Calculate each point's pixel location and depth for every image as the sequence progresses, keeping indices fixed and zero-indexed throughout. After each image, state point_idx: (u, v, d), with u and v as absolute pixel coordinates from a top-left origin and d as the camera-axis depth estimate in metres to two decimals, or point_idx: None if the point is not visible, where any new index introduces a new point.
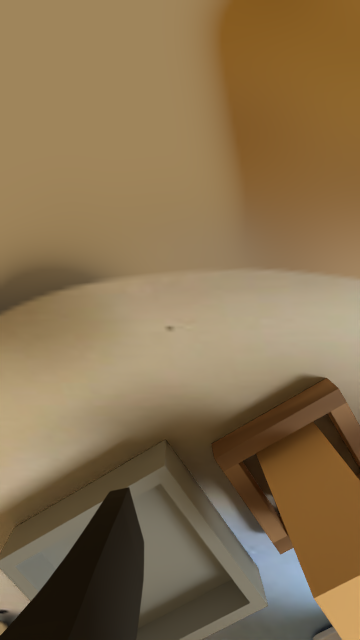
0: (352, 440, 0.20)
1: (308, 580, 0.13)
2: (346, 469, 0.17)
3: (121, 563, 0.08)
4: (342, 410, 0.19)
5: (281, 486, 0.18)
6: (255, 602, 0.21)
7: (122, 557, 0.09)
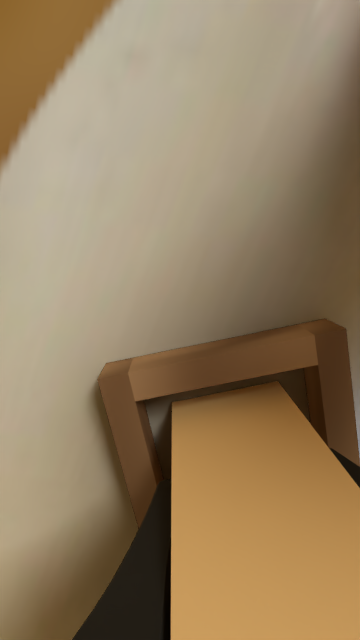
0: (204, 381, 0.11)
1: None
2: None
3: None
4: (140, 382, 0.11)
5: None
6: None
7: None
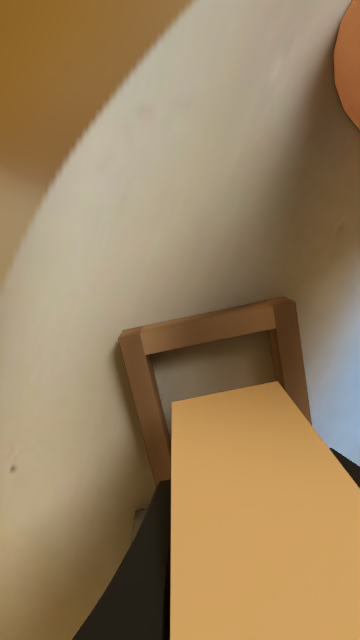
0: (194, 340, 0.15)
1: None
2: None
3: None
4: (148, 341, 0.15)
5: None
6: None
7: None
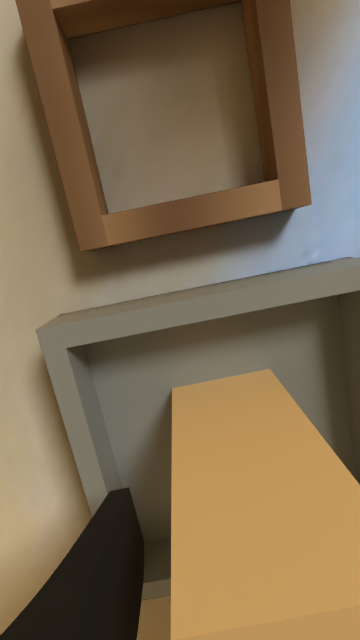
0: None
1: None
2: None
3: (121, 564, 0.08)
4: None
5: None
6: None
7: (122, 557, 0.09)
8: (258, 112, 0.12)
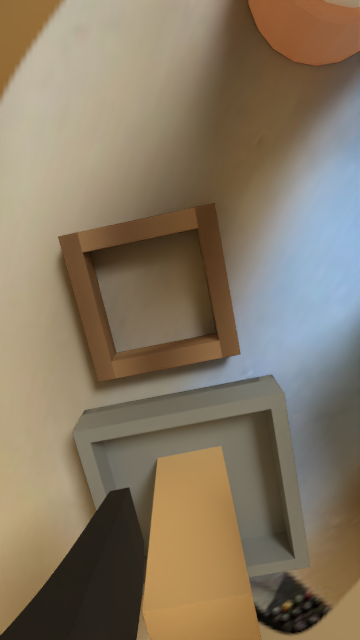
0: (125, 238, 0.17)
1: None
2: None
3: (121, 563, 0.08)
4: (85, 239, 0.17)
5: None
6: (274, 403, 0.18)
7: (122, 557, 0.09)
8: (209, 293, 0.19)
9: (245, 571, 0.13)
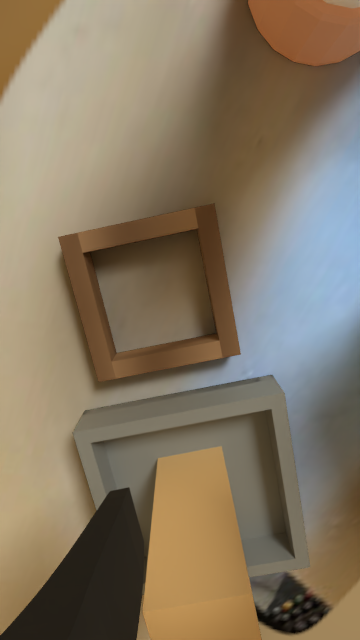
0: (125, 238, 0.17)
1: None
2: None
3: (121, 564, 0.08)
4: (85, 239, 0.17)
5: None
6: (274, 404, 0.18)
7: (122, 557, 0.09)
8: (209, 293, 0.19)
9: (245, 571, 0.13)
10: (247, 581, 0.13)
